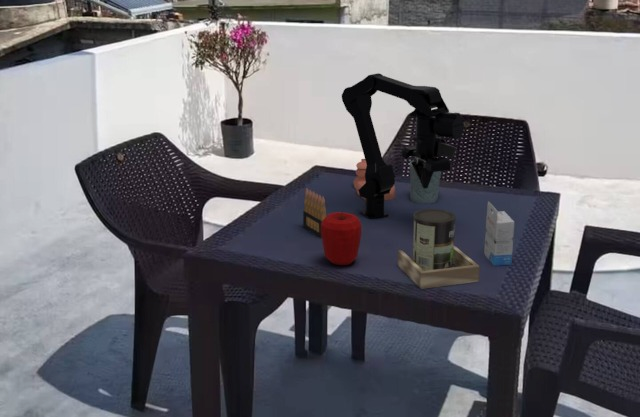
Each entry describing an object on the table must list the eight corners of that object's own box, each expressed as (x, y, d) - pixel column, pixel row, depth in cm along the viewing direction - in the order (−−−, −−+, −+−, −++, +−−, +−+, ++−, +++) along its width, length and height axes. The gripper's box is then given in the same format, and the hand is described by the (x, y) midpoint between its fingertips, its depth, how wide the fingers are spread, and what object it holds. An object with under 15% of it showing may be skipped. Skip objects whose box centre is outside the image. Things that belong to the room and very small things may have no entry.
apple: (314, 257, 205) (314, 208, 201) (350, 252, 209) (351, 203, 205) (330, 272, 196) (330, 221, 192) (367, 266, 200) (368, 216, 195)
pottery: (394, 199, 252) (395, 169, 249) (367, 202, 249) (367, 172, 246) (372, 183, 268) (373, 155, 265) (346, 186, 265) (347, 158, 262)
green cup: (418, 192, 258) (419, 157, 254) (446, 198, 252) (447, 162, 248) (402, 200, 250) (403, 164, 246) (431, 206, 244) (432, 169, 240)
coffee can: (453, 261, 203) (455, 209, 198) (452, 277, 193) (455, 223, 188) (412, 259, 204) (414, 207, 200) (410, 274, 195) (412, 221, 190)
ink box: (512, 265, 200) (516, 210, 195) (493, 266, 199) (496, 211, 195) (501, 253, 208) (505, 199, 203) (483, 253, 207) (487, 200, 203)
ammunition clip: (327, 237, 220) (327, 196, 216) (321, 238, 219) (321, 197, 215) (308, 226, 228) (308, 186, 224) (303, 227, 227) (302, 187, 224)
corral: (397, 265, 200) (398, 250, 199) (452, 258, 204) (452, 244, 203) (421, 289, 187) (421, 273, 185) (478, 281, 191) (479, 266, 189)
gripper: (469, 137, 211) (467, 193, 216) (436, 124, 228) (434, 176, 233) (432, 141, 208) (431, 198, 213) (401, 128, 224) (400, 181, 229)
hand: (425, 188), depth 222 cm, fingers closed
